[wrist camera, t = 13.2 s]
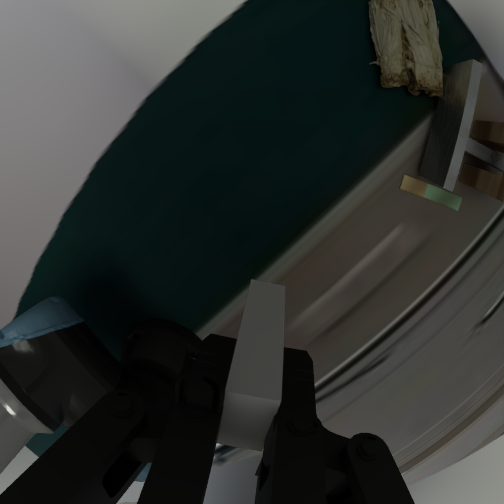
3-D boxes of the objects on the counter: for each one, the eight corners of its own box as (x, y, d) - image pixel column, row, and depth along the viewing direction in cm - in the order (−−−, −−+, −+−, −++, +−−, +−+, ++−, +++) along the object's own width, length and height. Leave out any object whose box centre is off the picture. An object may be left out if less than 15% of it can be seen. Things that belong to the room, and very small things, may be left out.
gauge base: (399, 188, 35) (432, 212, 25) (424, 95, 30) (466, 89, 20) (474, 217, 34) (516, 247, 25) (499, 134, 29) (548, 143, 20)
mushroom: (444, 99, 30) (464, 98, 25) (372, 94, 31) (384, 90, 26) (428, -4, 24) (445, -17, 19) (357, -13, 26) (365, -31, 21)
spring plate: (418, 175, 32) (443, 187, 26) (444, 67, 27) (473, 59, 20) (481, 201, 32) (510, 218, 26) (506, 102, 26) (538, 103, 20)
